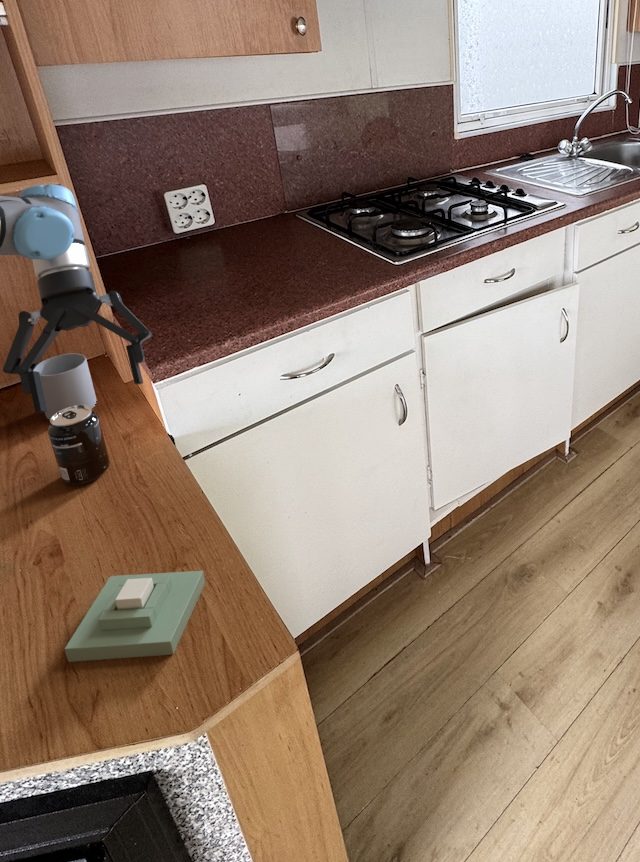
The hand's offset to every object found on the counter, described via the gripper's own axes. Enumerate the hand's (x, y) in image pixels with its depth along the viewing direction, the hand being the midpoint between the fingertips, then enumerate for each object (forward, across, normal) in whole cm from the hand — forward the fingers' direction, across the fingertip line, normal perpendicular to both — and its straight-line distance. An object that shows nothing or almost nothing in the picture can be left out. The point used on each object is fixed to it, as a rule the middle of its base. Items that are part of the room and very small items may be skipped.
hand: (91, 397), depth 94 cm
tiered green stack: (+31, -4, +19) cm, 37 cm away
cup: (-2, +10, -28) cm, 30 cm away
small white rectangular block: (+29, -5, +21) cm, 36 cm away
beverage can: (+12, +5, -9) cm, 15 cm away
